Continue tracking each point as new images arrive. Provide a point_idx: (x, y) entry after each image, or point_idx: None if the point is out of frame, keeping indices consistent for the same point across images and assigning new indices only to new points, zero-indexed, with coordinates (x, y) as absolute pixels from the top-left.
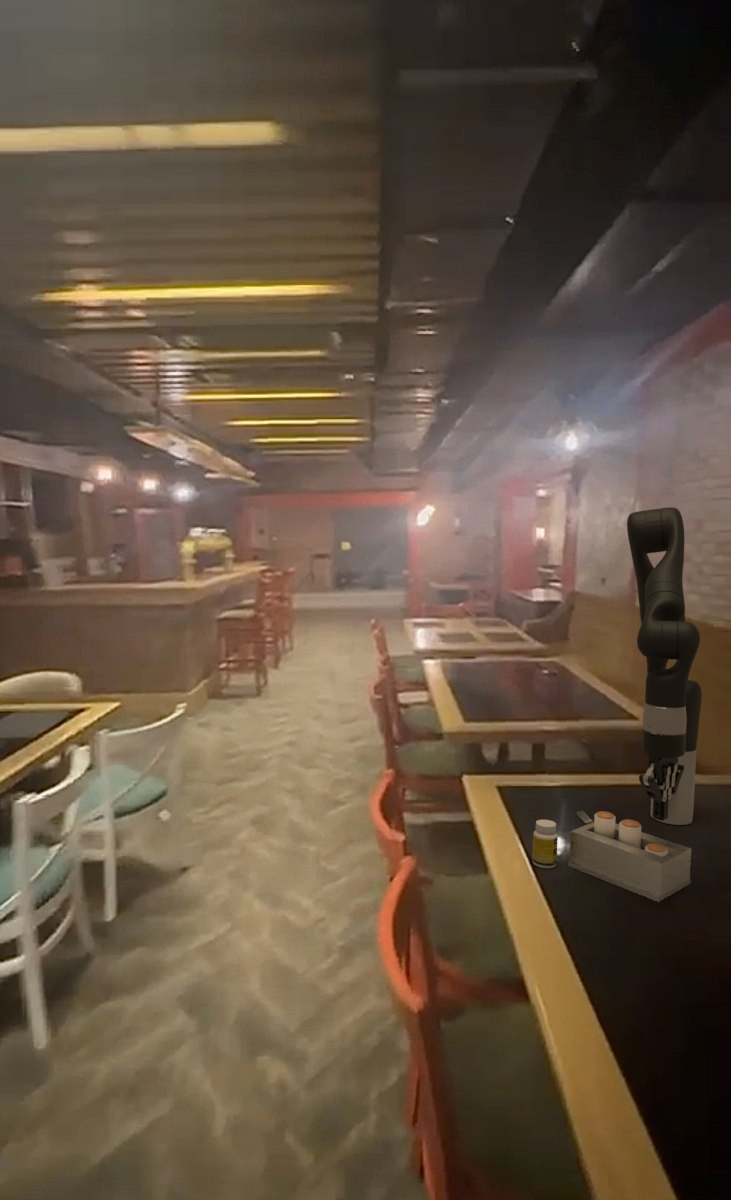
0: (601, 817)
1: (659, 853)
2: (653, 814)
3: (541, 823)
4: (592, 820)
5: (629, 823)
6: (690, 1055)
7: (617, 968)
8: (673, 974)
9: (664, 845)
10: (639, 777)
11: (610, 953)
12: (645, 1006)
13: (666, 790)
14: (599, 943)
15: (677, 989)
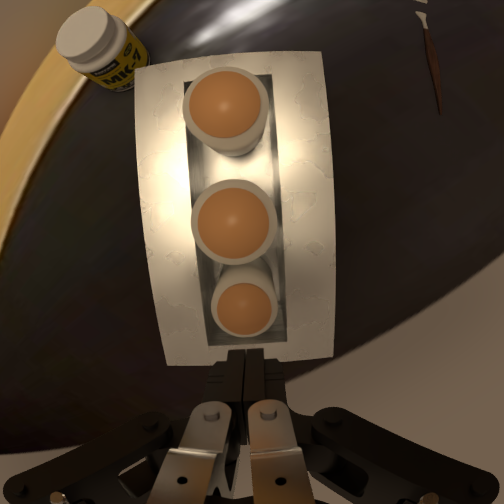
0: (191, 111)
1: (222, 329)
2: (213, 366)
3: (69, 29)
4: (426, 2)
5: (219, 228)
6: (14, 438)
7: (11, 365)
8: (56, 409)
9: (291, 306)
10: (5, 487)
11: (17, 347)
12: (9, 403)
13: (233, 491)
14: (17, 327)
15: (45, 418)
